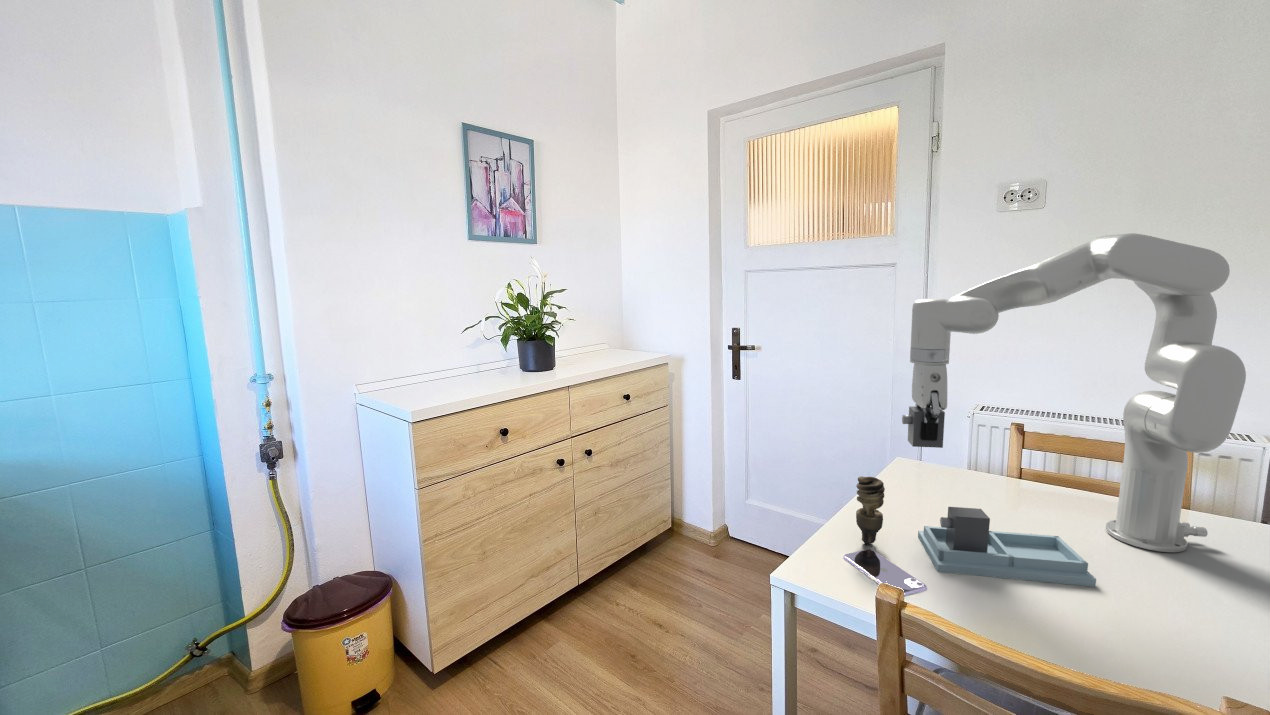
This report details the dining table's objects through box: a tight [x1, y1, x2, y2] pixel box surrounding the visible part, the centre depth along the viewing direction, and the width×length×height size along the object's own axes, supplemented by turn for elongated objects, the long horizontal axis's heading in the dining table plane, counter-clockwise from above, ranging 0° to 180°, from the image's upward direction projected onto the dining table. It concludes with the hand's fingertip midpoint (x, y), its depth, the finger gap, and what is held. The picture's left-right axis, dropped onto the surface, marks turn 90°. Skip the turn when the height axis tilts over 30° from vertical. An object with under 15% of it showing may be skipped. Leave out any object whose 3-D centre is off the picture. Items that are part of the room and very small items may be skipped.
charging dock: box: [917, 525, 1097, 588], centre depth 107 cm, size 26×14×4 cm, turn 77°
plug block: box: [901, 405, 946, 449], centre depth 120 cm, size 8×4×8 cm, turn 77°
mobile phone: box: [843, 549, 928, 597], centre depth 105 cm, size 8×1×15 cm
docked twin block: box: [939, 506, 991, 553], centre depth 108 cm, size 8×4×8 cm, turn 77°
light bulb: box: [855, 475, 886, 546], centre depth 114 cm, size 6×6×15 cm
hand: (925, 435), depth 120 cm, fingers closed on plug block, 4 cm apart
